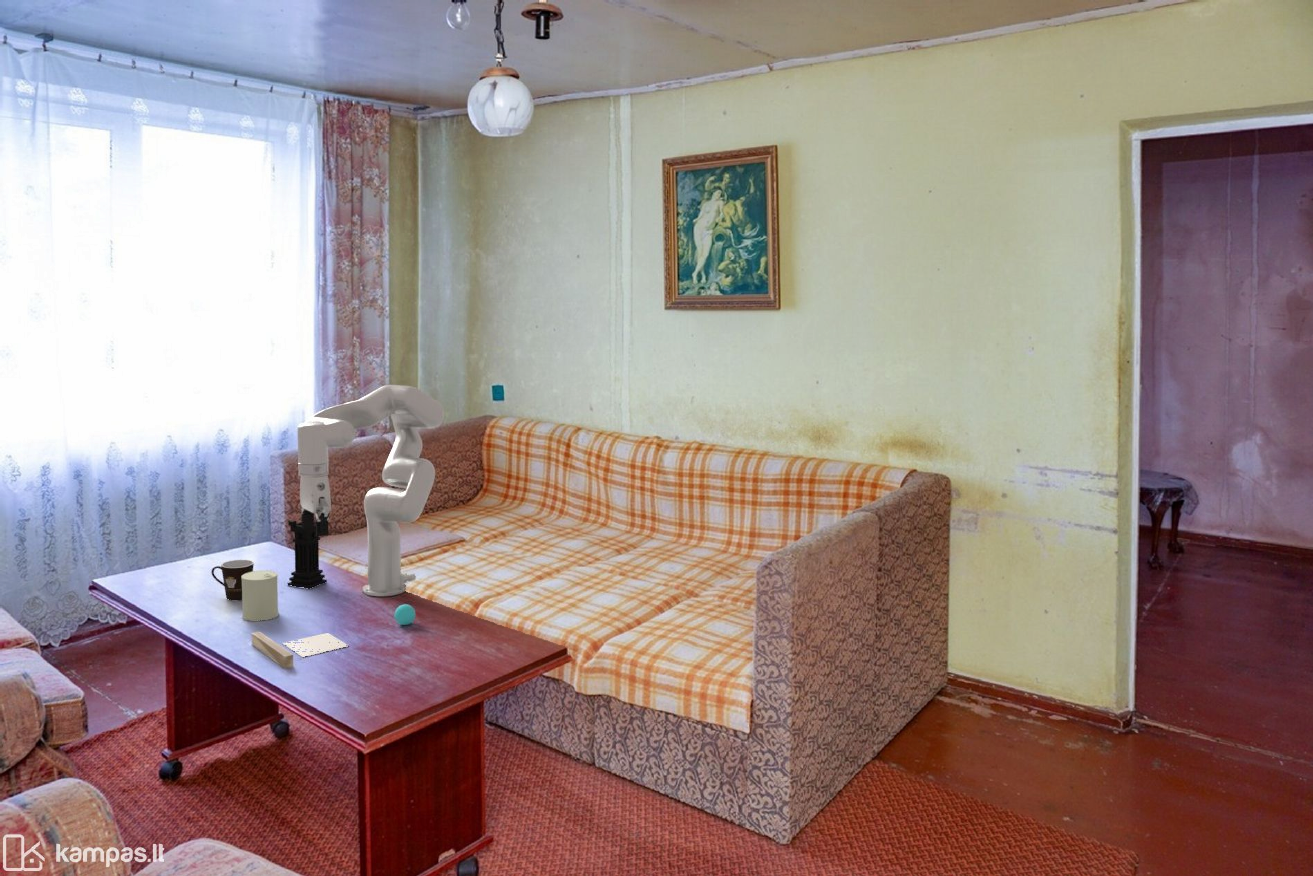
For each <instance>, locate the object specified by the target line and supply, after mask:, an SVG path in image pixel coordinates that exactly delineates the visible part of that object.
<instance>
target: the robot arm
mask: <svg viewBox="0 0 1313 876" xmlns="http://www.w3.org/2000/svg"><path fill="white" fill-rule="evenodd" d="M388 417H389V418H390V419H391V421H392V423H393V424H392V425H393V428H394V434H395V439H394V442H393V445H392V448H391V449H390V452H389V455H388V457H387V459H386V462H385V464H384V466H383V468H382V473H381V478H382V481H383V482H384V483H385V484H386V485H388V486H392V487H386V486H379V487H374V488H371V489H369V491H367V493H366V494H365V496H364V499H363V509H364V513H365V514H364V515H365V518H366V526H367V584H365V585H364V586H362V593H364V594H365V595H367V596H371V597H393V596H396V595H400V594H402V593H404V592H405V591H406V590H407V585H406V583H407V582H412V581H415V580H416V575H415V573H411V574H407V573H401V572H402V568H401V567H402V564H401V563H402V548H401V547H402V535H401V529H400V525H399V524H398V523H407V524H409V523H414V522H416V520H418V519H419V517H420V516H421V515H422V512H423V511H424V508H425V506H426V503H427V501H428V498H429V496H430V493H431V491H432V488H433V486H434V482H435V477H436V470H435V466H434V464H433V463H432V462H431V461H430V460H428V459H426V458H423V457H420V456H421V453H422V451H423V440H422V437H421V435H420V433H419V431H418V428H421V429H429V430H431V429H436V428H438V427H440V426H441V425H442V423H443V421H444V419H445V411H444V408H443V405H442V404H441V403H440V402H439V401H438V400H436V399H435V398H433V397H432V396H431V395H429V394H428V393H426V392H424V391H423V390H422V389H420V388H417V387H415V386H411V385H401V384H400V385H399V384H386V385H383V386H381V387H379V388H377V389H375V390H373V391H372V392H370V393H368V394H366V395H365V396H363V397H361V398H359V399H357V400H353V401H349V402H345V403H342V404H338V405H334V406H331V407H328V408H325V409H323V410H321V411H318V412H317V413H314V414H313V415H312V416H310V417H308V419H306V421H305V422H303V423H300V424H299V425H298V426H297V431H296V433H297V434H296V435H297V460H298V461H297V464H298V465H297V468H298V476H299V477H300V480H299V481H300V482H299V501H300V507H301V509H300V513H301V515H300V516H301V517H300V519H301V518H302V521H301V522H302V528H303V529H306V528H312V527H314V522H316V536H318V537H323V536H328V535H329V521H330V512H331V510H332V503H331V502H332V501H331V489H330V488H331V487H330V481H329V476H328V475H329V474H330V473H329V449H330V448H337V449H338V448H345V447H347V446H349V445H351V444H352V443H353V441H354V440H355V438H356V430H361V429H367V428H371V427H375V426H376V425H377V424H379V423H381V422H383V421H384V420H386V419H388ZM396 487H397V488H396ZM398 488H399V489H398ZM401 488H402V489H401ZM315 518H316V519H317V521H316V519H315Z"/></svg>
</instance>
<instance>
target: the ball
mask: <svg viewBox="0 0 1313 876" xmlns="http://www.w3.org/2000/svg"><path fill="white" fill-rule="evenodd" d="M393 616H394V620H395V621H396V622H397V624H399V625H402V626H407V625H410V624H411V623H413V621H414V620H415V619H416V610H415V608H413V606H412V605H410V604H407V603H406V604H402V605H401V604H400V605H399V606H398V607H397V608H396V609H395V611H394V615H393Z"/></svg>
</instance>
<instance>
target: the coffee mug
mask: <svg viewBox="0 0 1313 876" xmlns="http://www.w3.org/2000/svg"><path fill="white" fill-rule="evenodd" d="M254 564H255V562H254V561H253V560H250V559H232V560H228V561H224V562H222V563H220V566H219V565H217V566H214V567H213V568H212V569H211V575H212V577H213V579H214V580H215V581H216V582H218V584H220V585H222V586H223V587H224V592H225V597H226V598H227V599H229V600H228V601H232V600H238V601H242V578H241V576H242V575H243V574H245V573H249V572H253V571H254ZM216 569H219V570H221V572H222V573H221V574H222V578H223V581H222V580H220V579H218V578H217V576H216V575H215V573H214V572H215V570H216ZM226 598H225V599H226ZM227 599H226V600H227Z"/></svg>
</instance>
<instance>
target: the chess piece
mask: <svg viewBox="0 0 1313 876" xmlns="http://www.w3.org/2000/svg"><path fill="white" fill-rule="evenodd" d="M300 519H301V520H300V521H299V522H297V520H293V519H292V520H291V519H290V520H288V522H287V525H288V526H290V533H291V532H293V533H294V538H292V542H293V543H294V569H295V570H294V571H291V572H290V574H291V577H289V579H288V580H289V582H287V584H288V585H292V586H296V587H295V588H298V587H304V588H308V589H307V590H311V589H313V588H312V587H314V588H316V587H318V586H317V585H319V584H321V585H324V584H326V583H327V582H328V580H327V579H324V578H326V577H325V574H322V573H323V572H324V571H323V569H320V567H319V566H320V554H319V552H320V551H319V550H320V549H319V546H320V545H319V543H320V542H319V541H320V540H321V536H316V521H317V519H315V521H314V527H312V528H306V529H303V528H302V518H301V517H300ZM325 582H326V583H325ZM323 583H324V584H323ZM287 584H286V585H287ZM292 586H291V587H292ZM315 586H316V587H315ZM319 586H320V585H319ZM304 588H303V589H304ZM310 588H311V589H310Z"/></svg>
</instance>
